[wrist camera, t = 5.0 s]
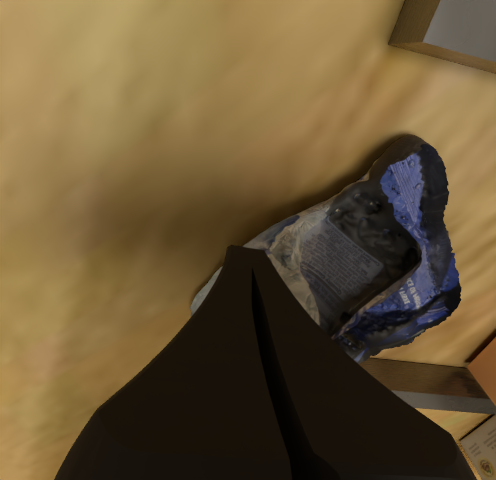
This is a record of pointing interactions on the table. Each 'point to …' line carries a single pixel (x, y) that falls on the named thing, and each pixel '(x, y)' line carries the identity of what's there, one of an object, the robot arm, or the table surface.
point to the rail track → (481, 57)
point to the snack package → (371, 254)
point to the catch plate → (486, 370)
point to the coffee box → (483, 449)
